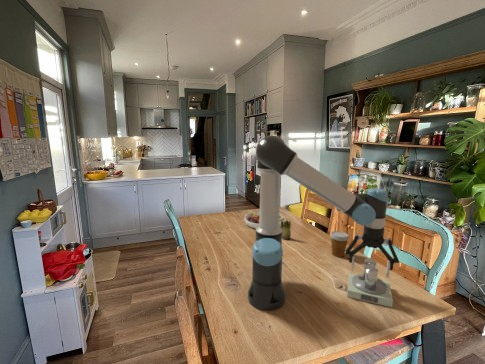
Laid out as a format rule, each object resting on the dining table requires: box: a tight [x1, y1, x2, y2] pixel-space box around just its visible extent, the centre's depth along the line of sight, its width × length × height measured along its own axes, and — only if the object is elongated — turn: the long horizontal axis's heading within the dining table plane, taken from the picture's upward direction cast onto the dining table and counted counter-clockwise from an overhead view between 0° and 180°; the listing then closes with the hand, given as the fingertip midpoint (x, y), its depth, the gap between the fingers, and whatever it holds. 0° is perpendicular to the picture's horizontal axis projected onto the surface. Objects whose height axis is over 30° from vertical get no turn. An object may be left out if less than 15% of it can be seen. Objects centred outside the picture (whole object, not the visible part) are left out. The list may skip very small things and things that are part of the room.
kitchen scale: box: [346, 273, 394, 308], centre depth 108 cm, size 14×16×4 cm
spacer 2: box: [364, 267, 379, 291], centre depth 104 cm, size 4×4×8 cm
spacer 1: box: [362, 258, 377, 279], centre depth 111 cm, size 4×4×8 cm
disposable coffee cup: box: [329, 230, 350, 258], centre depth 141 cm, size 10×10×12 cm
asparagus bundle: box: [280, 220, 292, 240], centre depth 162 cm, size 6×5×12 cm
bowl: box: [244, 211, 287, 230], centre depth 190 cm, size 30×30×8 cm
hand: (369, 272), depth 111 cm, fingers open, 13 cm apart
